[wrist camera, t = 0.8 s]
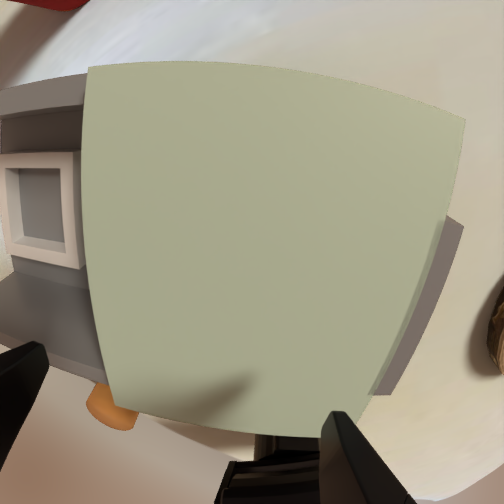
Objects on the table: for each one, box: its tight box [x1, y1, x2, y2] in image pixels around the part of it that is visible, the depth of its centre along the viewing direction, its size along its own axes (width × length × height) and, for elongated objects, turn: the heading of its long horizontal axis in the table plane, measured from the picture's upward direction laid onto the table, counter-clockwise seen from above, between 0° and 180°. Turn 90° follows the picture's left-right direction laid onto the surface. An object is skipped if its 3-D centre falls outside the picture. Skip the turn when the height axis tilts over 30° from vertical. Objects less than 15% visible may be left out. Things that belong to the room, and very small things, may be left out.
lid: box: [81, 61, 466, 438], centre depth 12 cm, size 15×13×3 cm
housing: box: [0, 73, 109, 385], centre depth 15 cm, size 15×18×8 cm
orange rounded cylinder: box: [86, 382, 139, 431], centre depth 22 cm, size 4×4×6 cm
